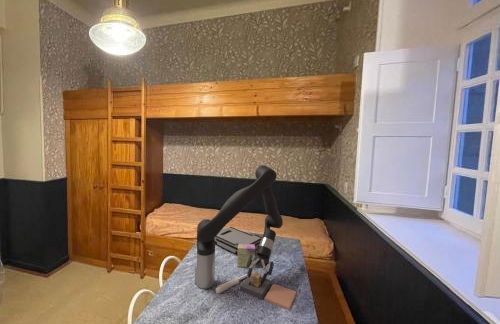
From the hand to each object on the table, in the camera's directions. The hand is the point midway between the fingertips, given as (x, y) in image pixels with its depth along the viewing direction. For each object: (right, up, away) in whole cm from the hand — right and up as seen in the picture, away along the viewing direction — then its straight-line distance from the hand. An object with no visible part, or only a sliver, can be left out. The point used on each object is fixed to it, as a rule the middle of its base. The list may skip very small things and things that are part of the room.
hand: (255, 279), depth 107 cm
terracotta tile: (+12, -6, -5) cm, 14 cm away
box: (-6, -3, +22) cm, 23 cm away
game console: (-13, -1, +45) cm, 47 cm away
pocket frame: (0, -5, +1) cm, 5 cm away
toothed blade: (-11, -5, +3) cm, 13 cm away
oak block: (0, -5, +1) cm, 5 cm away
